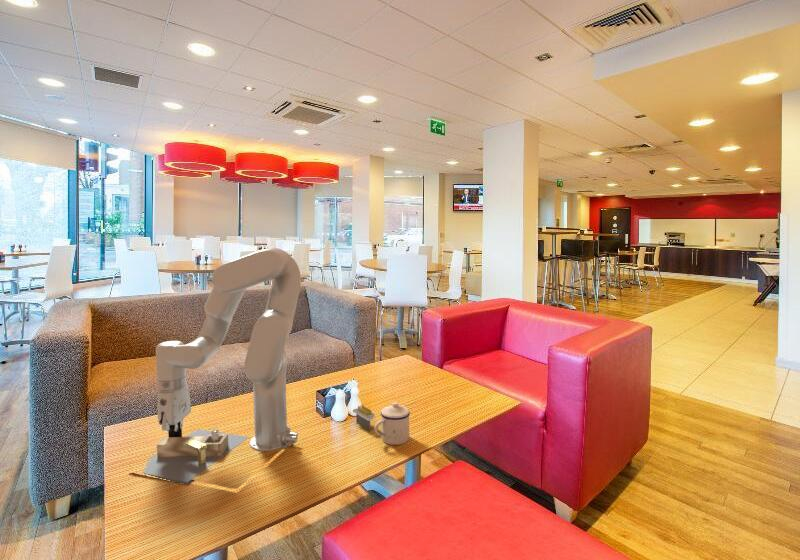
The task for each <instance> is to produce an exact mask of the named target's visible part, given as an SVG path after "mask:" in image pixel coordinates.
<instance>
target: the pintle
mask: <svg viewBox="0 0 800 560" xmlns="http://www.w3.org/2000/svg"><path fill="white" fill-rule="evenodd" d="M210 431H211V435H212V443H217V442H219V432H220V430H219V429H213V430H210Z"/></svg>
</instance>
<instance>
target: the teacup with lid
mask: <svg viewBox="0 0 800 560" xmlns="http://www.w3.org/2000/svg"><path fill="white" fill-rule="evenodd" d="M410 414H411V412H410V409H409V408H407V407H406V406H404V405H400V404H399V402H397V401H393V402H392V403H391V405H387V406H385V407H383V408H382V409H381V411H380V415H381V419H380V420H378V421H376V422H375V424H374V432H375V434H376V435H377V436H378V437H381V440H382V441H383V442H384V443H385V444H388V445H392V446H398V445H399V446H400V445H403V444H406V443H407V442H408V441H409V440H410ZM380 425H381V432H379V430H378V429H379V426H380Z"/></svg>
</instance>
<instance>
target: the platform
mask: <svg viewBox="0 0 800 560" xmlns="http://www.w3.org/2000/svg"><path fill="white" fill-rule="evenodd" d="M352 413H354V414H355V415H356V416H355V417H356V424H357V425H359V426H360V427H362V428H364V429H365V430H367V431H368V432H371V421H373V420H374V419H375V417H376V413H374V412H372V410H371V409H370V408H369V407H366V406H365V405H363V404H360V405H357V408H354V409H352Z"/></svg>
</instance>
